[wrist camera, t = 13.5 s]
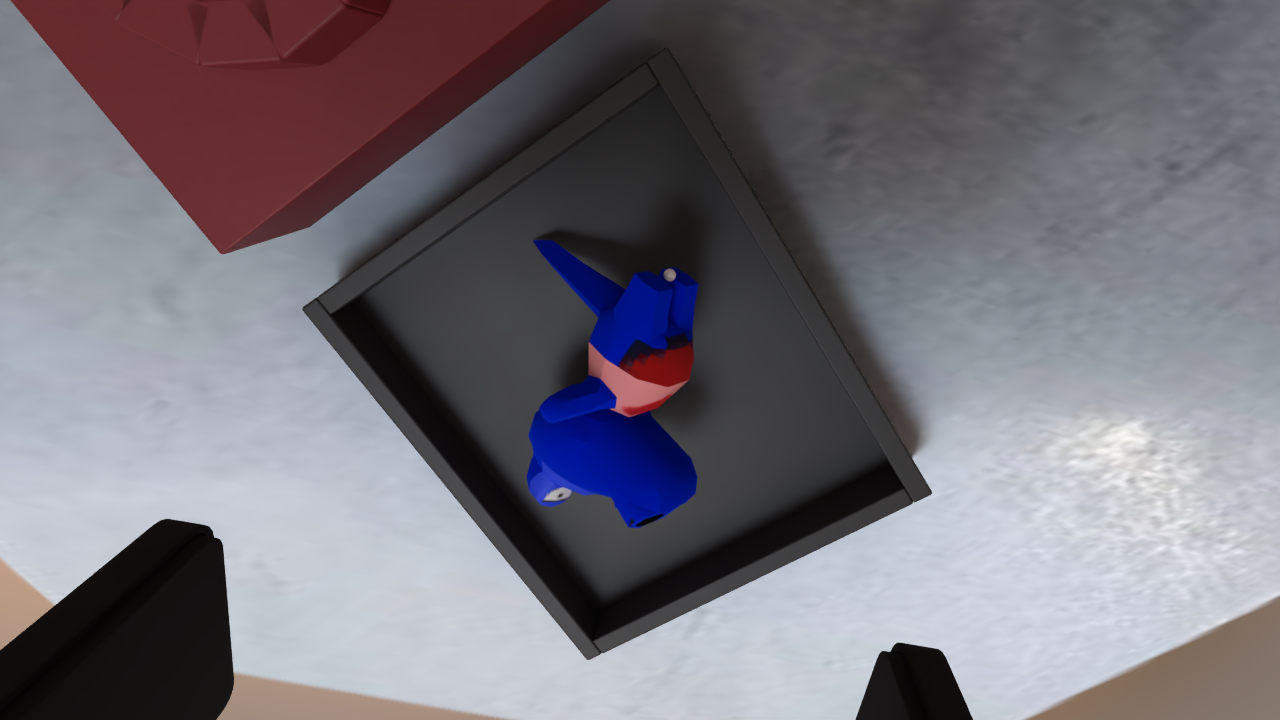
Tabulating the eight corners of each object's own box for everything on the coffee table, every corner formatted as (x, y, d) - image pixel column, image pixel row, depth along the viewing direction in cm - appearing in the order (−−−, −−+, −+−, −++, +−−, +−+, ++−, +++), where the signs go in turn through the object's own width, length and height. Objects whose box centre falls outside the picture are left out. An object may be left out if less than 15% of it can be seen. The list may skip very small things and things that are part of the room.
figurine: (687, 476, 23) (536, 477, 23) (693, 236, 20) (523, 237, 20) (701, 563, 18) (511, 564, 18) (709, 267, 16) (491, 268, 16)
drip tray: (670, 51, 19) (666, 45, 17) (912, 460, 22) (933, 494, 20) (335, 290, 22) (300, 308, 20) (595, 618, 25) (587, 661, 23)
